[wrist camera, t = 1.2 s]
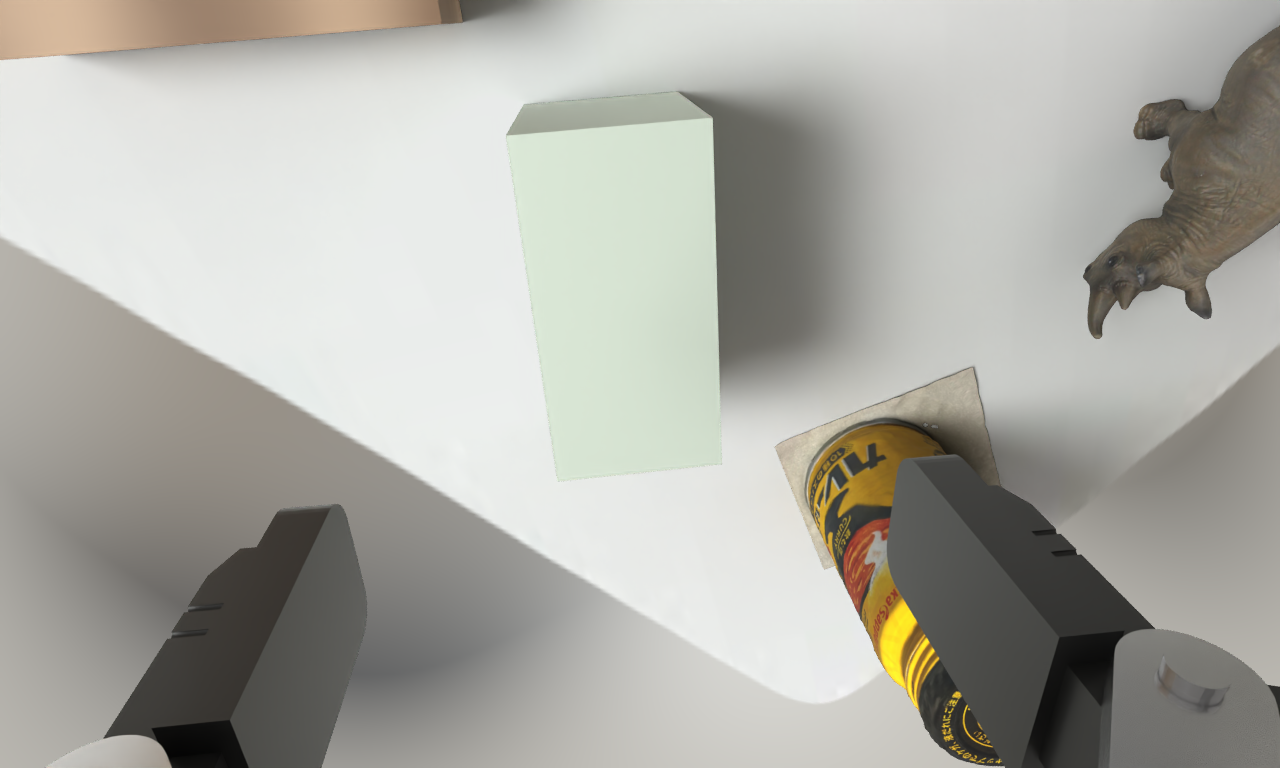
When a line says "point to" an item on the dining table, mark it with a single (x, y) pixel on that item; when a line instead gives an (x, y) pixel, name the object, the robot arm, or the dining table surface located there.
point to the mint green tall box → (622, 279)
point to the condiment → (859, 523)
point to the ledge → (195, 22)
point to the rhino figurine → (1201, 190)
